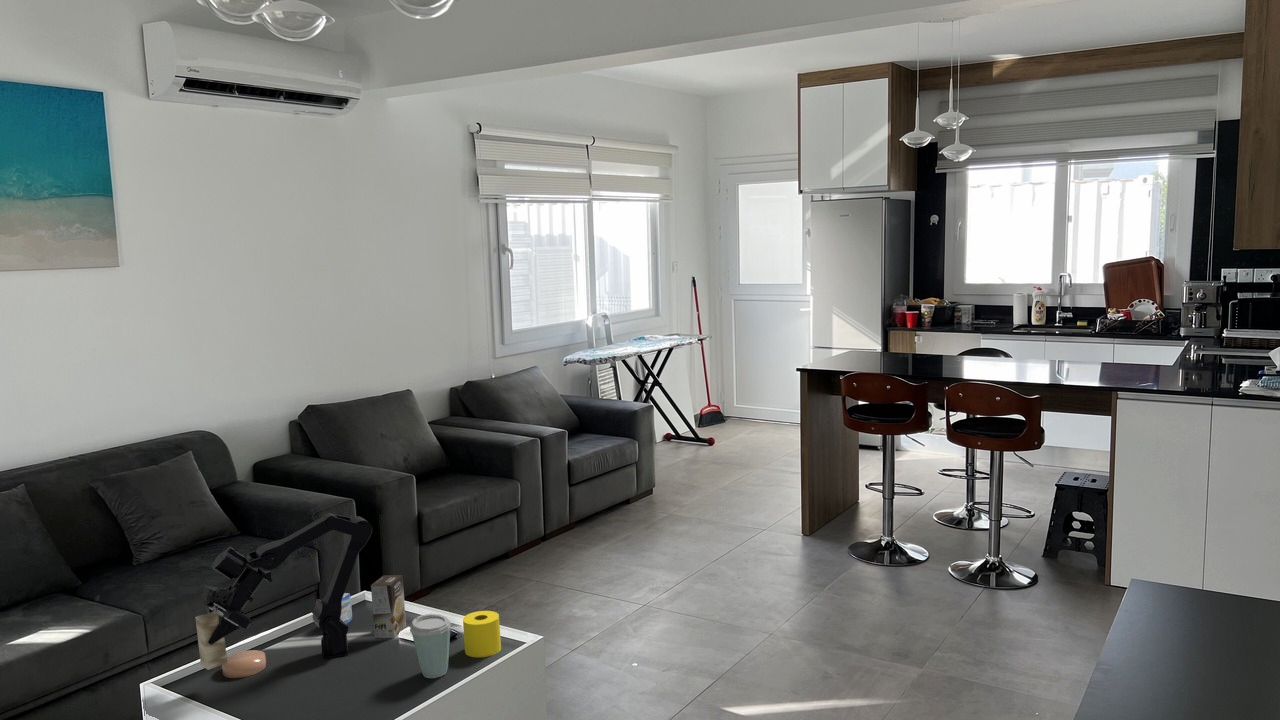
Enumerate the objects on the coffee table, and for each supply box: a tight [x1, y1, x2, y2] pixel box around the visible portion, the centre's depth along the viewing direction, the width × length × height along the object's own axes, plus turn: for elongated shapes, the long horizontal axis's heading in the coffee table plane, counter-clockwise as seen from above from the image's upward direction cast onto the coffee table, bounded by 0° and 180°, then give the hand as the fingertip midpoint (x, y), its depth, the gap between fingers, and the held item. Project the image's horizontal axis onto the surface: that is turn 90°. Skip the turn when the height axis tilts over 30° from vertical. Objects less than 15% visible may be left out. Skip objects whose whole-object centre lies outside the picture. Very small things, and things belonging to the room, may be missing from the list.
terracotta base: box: [221, 649, 267, 679], centre depth 259 cm, size 11×11×3 cm
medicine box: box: [340, 592, 353, 625], centre depth 288 cm, size 8×4×9 cm, turn 168°
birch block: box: [195, 611, 228, 671], centre depth 247 cm, size 5×5×13 cm
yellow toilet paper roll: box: [462, 610, 502, 658], centre depth 265 cm, size 10×10×9 cm
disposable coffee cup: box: [409, 613, 452, 679], centre depth 250 cm, size 11×11×15 cm
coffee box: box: [370, 574, 407, 639], centre depth 280 cm, size 9×6×16 cm
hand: (205, 641), depth 246 cm, fingers closed on birch block, 5 cm apart
